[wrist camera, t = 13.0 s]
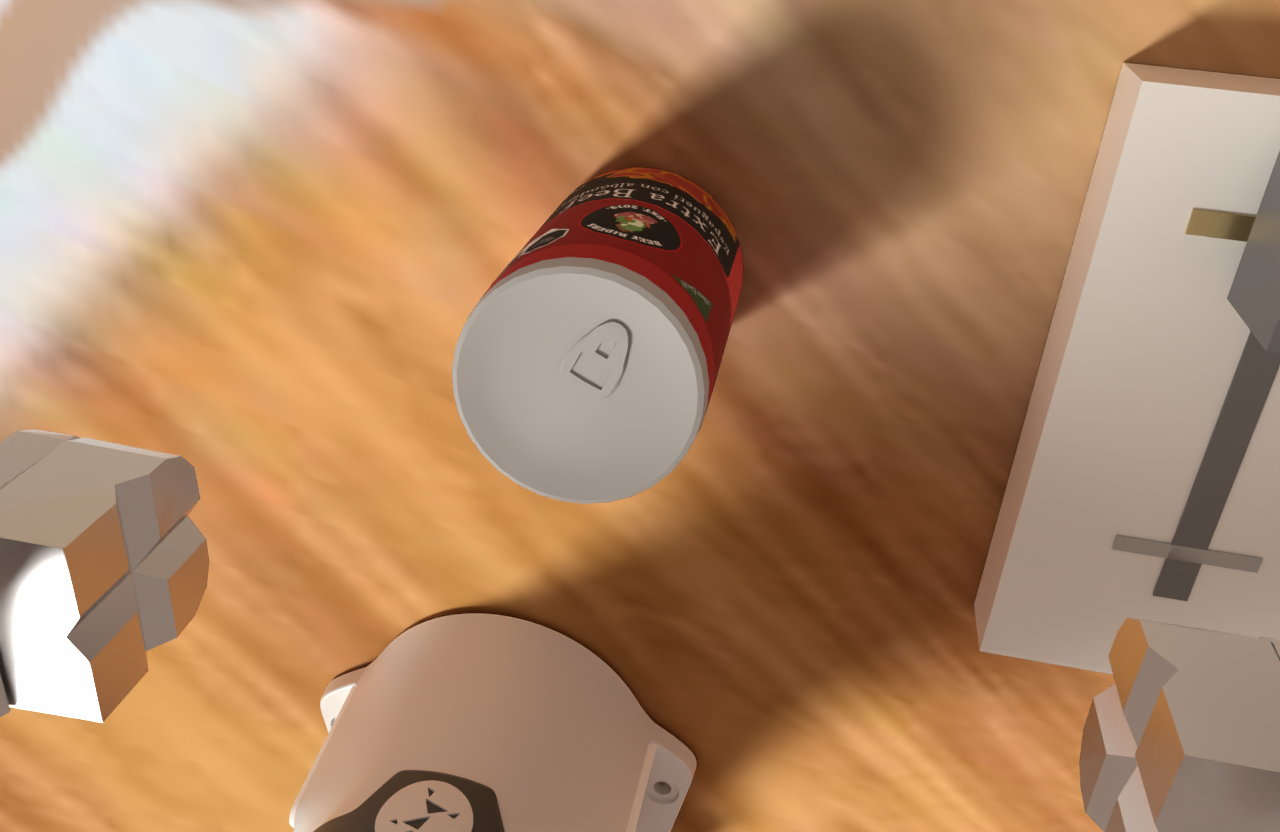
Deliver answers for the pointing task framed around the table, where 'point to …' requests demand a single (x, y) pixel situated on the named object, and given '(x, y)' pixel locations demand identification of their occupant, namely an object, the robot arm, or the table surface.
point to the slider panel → (1149, 393)
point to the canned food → (602, 339)
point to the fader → (1262, 270)
